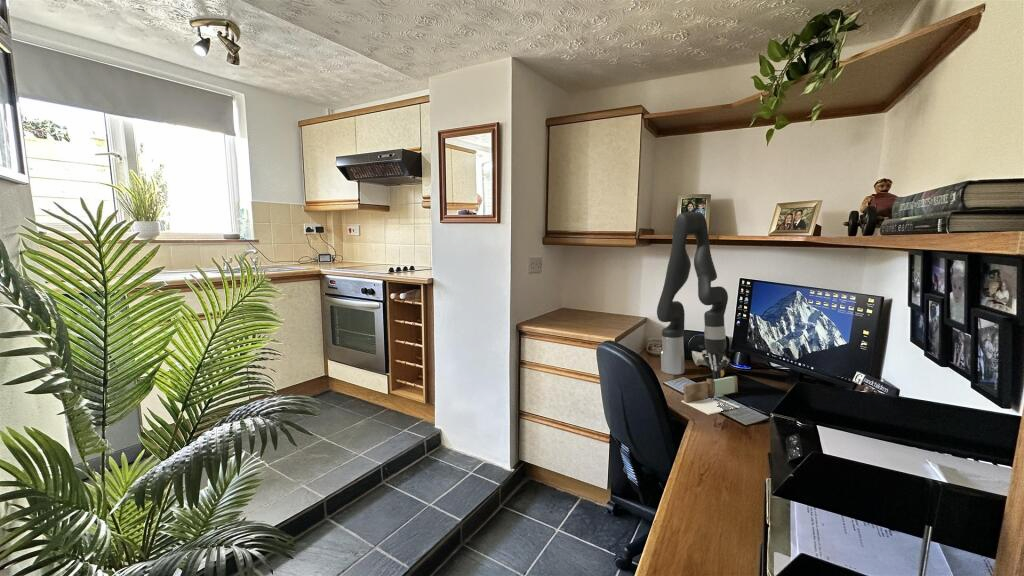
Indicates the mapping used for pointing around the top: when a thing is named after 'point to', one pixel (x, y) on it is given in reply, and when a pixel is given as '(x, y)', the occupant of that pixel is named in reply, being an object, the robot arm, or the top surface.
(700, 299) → the robot arm
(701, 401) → the card
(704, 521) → the top surface
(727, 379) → the panel
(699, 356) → the ceramic sculpture
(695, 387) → the fence post and fixed panel
